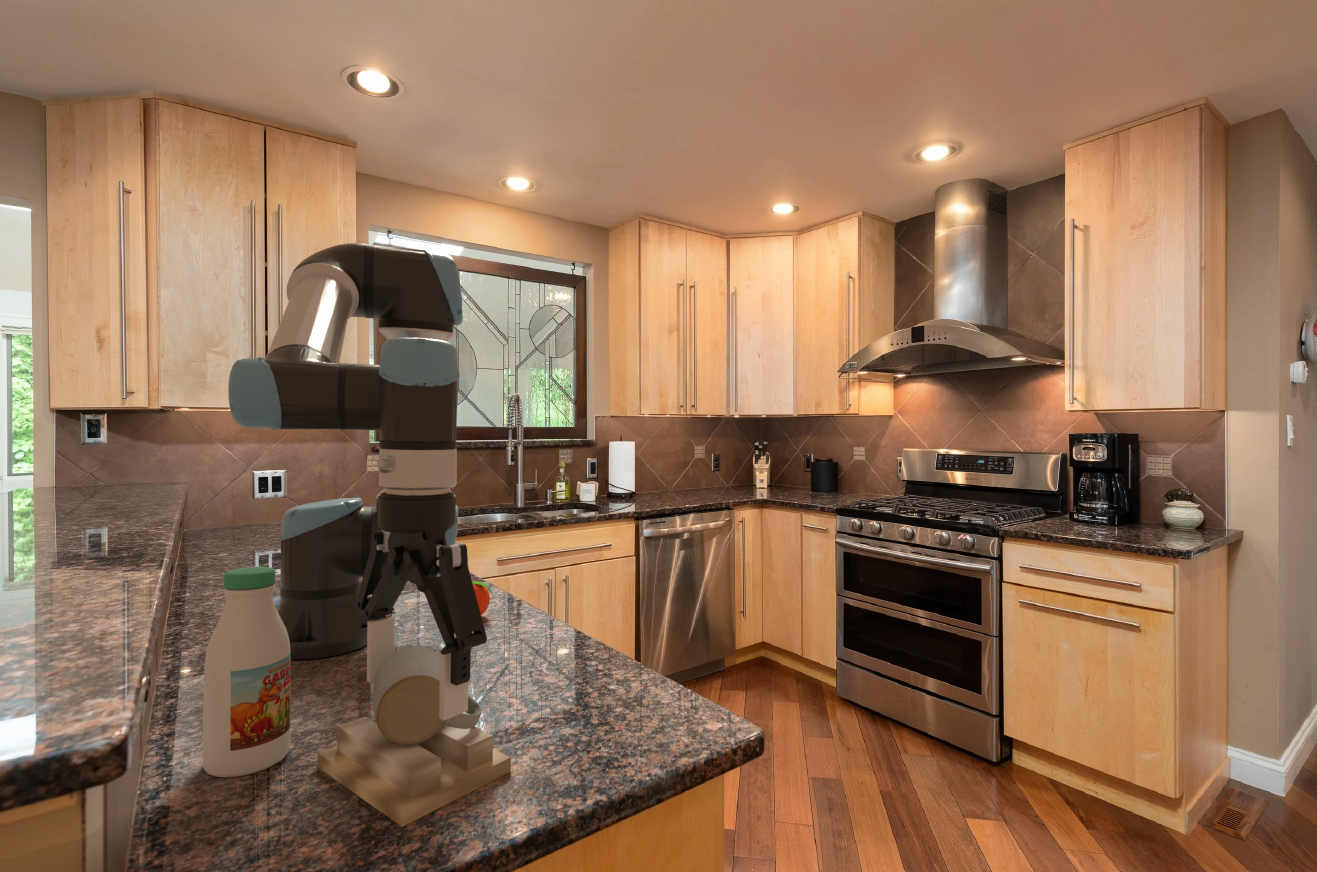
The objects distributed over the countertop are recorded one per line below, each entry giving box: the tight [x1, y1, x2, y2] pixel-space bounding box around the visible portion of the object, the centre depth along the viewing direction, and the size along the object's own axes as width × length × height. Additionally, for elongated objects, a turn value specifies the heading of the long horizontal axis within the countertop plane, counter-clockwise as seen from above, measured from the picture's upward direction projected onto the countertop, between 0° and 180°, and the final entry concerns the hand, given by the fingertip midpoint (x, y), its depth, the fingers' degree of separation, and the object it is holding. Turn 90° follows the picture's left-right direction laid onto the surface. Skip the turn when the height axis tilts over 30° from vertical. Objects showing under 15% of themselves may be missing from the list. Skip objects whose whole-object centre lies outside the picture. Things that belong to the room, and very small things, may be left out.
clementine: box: [472, 580, 494, 616], centre depth 121 cm, size 8×7×7 cm
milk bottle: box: [202, 566, 292, 778], centre depth 68 cm, size 8×8×20 cm
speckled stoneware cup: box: [372, 645, 483, 745], centre depth 67 cm, size 11×8×8 cm
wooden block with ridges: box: [317, 716, 512, 828], centre depth 66 cm, size 16×12×4 cm
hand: (414, 695), depth 67 cm, fingers open, 13 cm apart
